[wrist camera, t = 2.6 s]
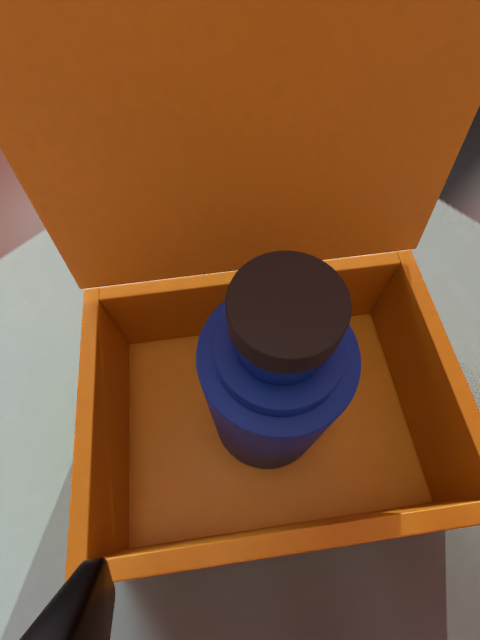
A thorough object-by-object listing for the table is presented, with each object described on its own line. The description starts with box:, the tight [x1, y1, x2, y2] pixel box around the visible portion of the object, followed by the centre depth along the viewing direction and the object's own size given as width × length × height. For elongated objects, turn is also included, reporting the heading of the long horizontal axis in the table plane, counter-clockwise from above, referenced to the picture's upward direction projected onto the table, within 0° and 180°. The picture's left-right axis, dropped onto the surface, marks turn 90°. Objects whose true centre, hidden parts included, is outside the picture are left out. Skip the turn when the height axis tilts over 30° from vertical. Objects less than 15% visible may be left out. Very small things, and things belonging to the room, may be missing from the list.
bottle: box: [196, 250, 361, 469], centre depth 14 cm, size 5×5×12 cm
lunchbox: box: [65, 250, 480, 582], centre depth 17 cm, size 11×15×6 cm
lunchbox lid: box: [0, 0, 480, 289], centre depth 13 cm, size 12×15×4 cm
